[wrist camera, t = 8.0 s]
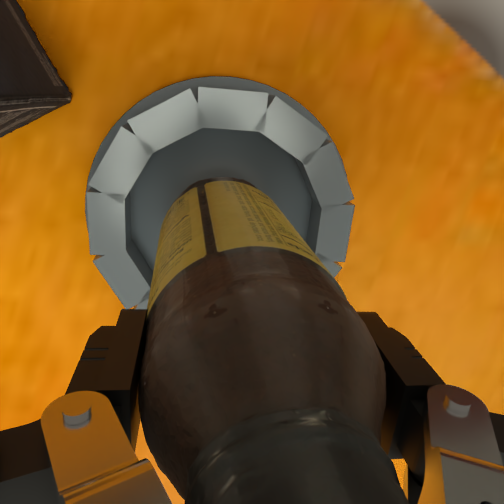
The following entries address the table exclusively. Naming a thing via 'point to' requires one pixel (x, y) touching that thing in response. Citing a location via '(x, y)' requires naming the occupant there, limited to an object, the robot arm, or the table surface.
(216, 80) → the slate dish
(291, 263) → the sauce bottle
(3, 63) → the small box
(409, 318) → the table surface
